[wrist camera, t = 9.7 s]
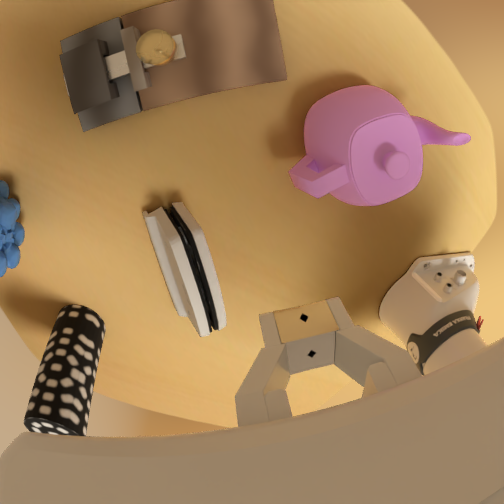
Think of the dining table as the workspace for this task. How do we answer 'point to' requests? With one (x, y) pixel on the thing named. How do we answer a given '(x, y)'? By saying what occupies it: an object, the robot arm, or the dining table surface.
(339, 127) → the teapot
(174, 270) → the light grey rounded piece
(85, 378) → the white-spotted black cylinder
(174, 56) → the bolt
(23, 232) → the grapes
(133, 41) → the door board
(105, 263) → the dining table surface
